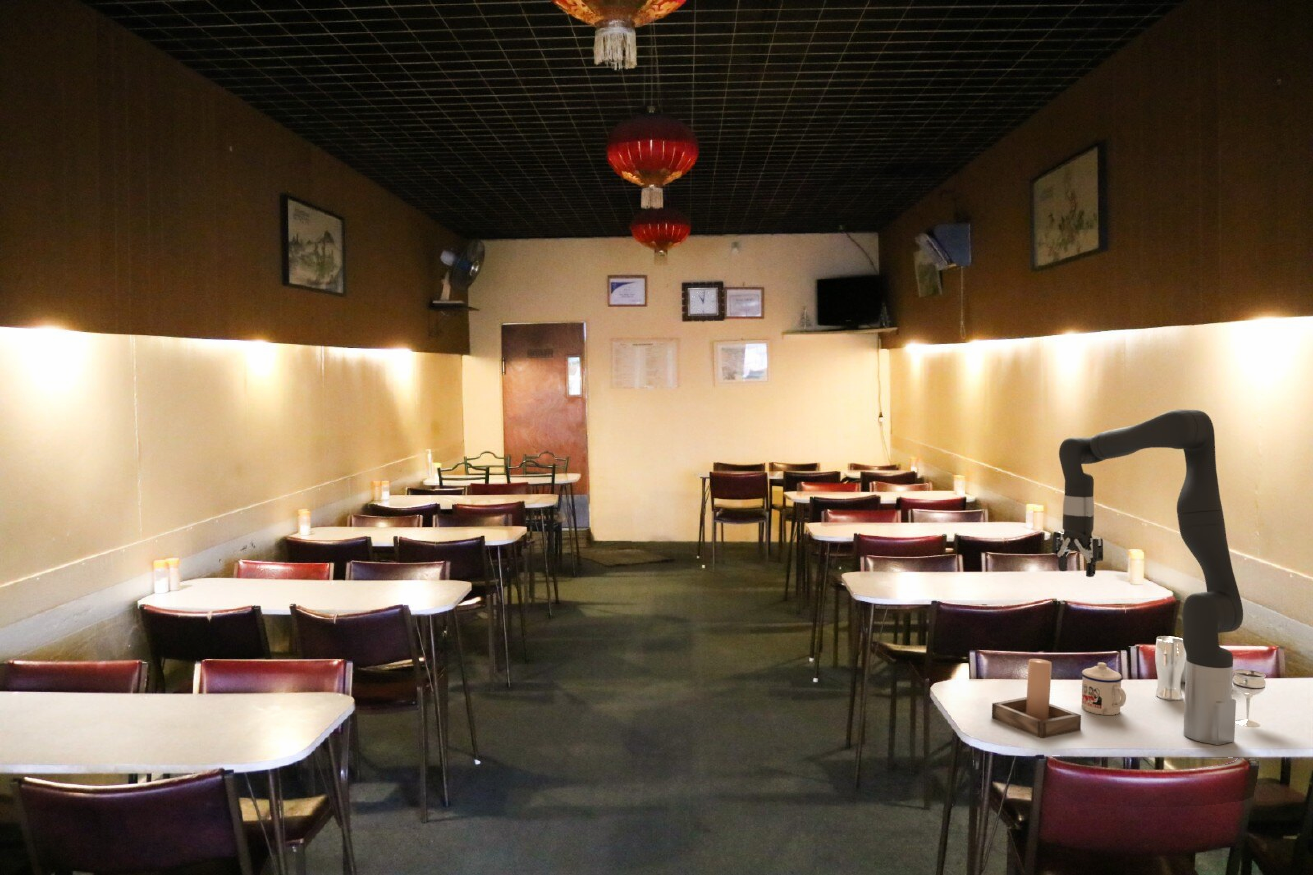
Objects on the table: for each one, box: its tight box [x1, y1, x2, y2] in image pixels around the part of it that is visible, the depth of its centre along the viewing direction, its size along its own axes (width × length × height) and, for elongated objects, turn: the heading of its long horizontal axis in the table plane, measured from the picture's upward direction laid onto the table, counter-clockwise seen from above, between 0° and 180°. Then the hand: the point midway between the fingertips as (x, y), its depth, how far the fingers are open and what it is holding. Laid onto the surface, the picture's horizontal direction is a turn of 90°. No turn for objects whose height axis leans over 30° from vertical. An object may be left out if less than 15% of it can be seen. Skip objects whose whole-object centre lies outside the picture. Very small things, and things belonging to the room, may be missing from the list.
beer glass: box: [1154, 635, 1186, 701], centre depth 248 cm, size 7×7×15 cm
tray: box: [991, 696, 1082, 739], centre depth 227 cm, size 15×12×4 cm
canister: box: [1026, 658, 1053, 720], centre depth 227 cm, size 5×5×14 cm
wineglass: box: [1232, 668, 1267, 728], centre depth 228 cm, size 7×7×12 cm
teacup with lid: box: [1081, 661, 1127, 716], centre depth 236 cm, size 12×9×12 cm
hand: (1076, 573), depth 255 cm, fingers open, 8 cm apart
